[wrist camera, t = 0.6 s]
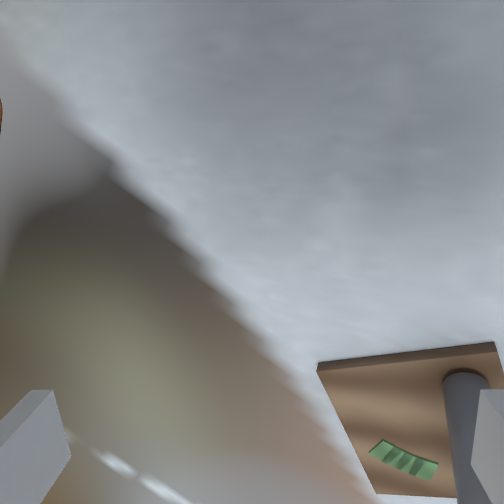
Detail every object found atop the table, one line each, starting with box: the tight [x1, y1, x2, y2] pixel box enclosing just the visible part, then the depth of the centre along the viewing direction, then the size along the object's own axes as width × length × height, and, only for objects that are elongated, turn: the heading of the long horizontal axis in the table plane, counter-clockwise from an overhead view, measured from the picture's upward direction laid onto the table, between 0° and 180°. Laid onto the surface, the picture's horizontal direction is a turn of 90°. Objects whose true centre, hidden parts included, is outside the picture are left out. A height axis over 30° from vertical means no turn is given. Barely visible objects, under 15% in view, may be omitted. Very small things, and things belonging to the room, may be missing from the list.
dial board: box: [316, 342, 504, 498], centre depth 30 cm, size 16×13×1 cm
